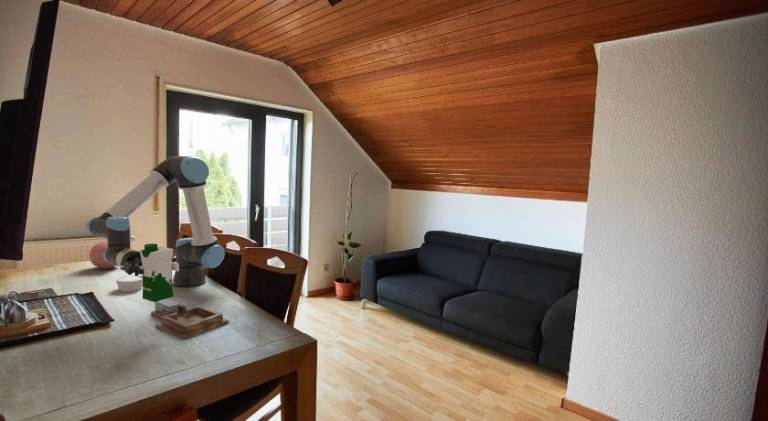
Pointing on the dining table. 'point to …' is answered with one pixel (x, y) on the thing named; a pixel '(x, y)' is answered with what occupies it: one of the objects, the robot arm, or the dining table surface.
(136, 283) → the ramekin
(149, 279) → the soya milk
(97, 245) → the pink ovoid shape
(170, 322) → the brown wooden tray
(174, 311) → the lock bar
